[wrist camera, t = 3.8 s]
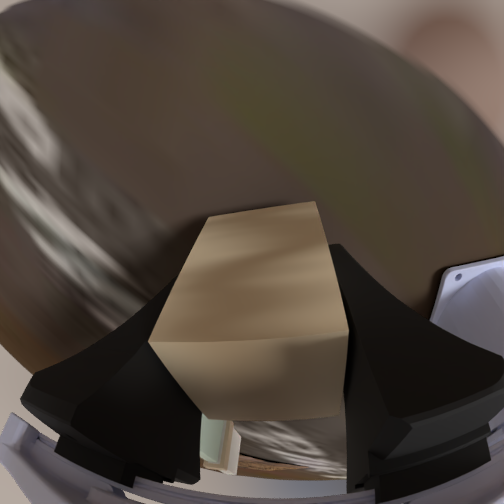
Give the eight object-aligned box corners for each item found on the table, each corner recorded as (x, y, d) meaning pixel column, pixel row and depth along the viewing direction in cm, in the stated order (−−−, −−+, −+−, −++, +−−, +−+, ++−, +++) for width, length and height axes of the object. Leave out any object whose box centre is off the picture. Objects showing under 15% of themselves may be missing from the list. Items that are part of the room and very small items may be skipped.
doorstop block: (314, 201, 10) (349, 329, 4) (322, 286, 12) (339, 415, 7) (208, 216, 10) (148, 341, 5) (233, 296, 12) (208, 419, 7)
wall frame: (166, 318, 16) (135, 397, 11) (244, 436, 26) (239, 478, 22) (140, 319, 16) (106, 391, 11) (228, 436, 27) (221, 476, 22)
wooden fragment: (155, 442, 35) (154, 447, 34) (168, 429, 29) (166, 436, 28) (286, 471, 39) (286, 475, 38) (323, 460, 34) (323, 465, 33)
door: (184, 365, 18) (168, 424, 14) (224, 419, 23) (217, 462, 19) (165, 364, 18) (147, 420, 14) (209, 419, 23) (200, 460, 19)
